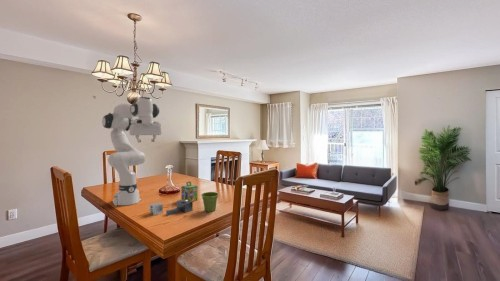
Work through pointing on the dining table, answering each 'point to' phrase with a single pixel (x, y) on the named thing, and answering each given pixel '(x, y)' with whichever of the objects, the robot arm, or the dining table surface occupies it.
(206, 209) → the plant pot
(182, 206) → the coupler
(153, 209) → the lock block
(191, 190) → the green patterned lantern
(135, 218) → the dining table surface
